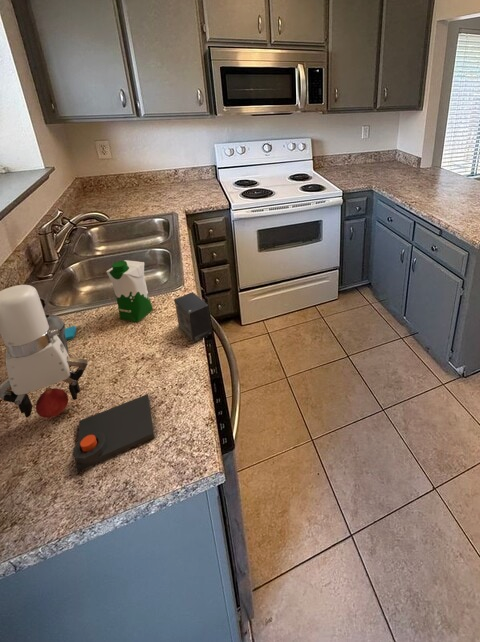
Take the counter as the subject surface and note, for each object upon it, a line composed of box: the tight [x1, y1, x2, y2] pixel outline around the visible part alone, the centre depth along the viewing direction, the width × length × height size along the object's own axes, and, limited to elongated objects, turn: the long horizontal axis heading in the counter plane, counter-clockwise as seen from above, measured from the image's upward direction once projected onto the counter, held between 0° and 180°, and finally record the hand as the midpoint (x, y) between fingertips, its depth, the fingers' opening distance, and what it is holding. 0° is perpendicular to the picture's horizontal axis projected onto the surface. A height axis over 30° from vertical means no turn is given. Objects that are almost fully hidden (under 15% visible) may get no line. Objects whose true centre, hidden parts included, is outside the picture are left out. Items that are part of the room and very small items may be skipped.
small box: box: [173, 291, 213, 344], centre depth 108 cm, size 11×6×10 cm, turn 44°
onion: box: [35, 386, 69, 419], centre depth 81 cm, size 6×6×8 cm
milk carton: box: [105, 259, 154, 323], centre depth 115 cm, size 9×9×20 cm
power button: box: [80, 435, 97, 452], centre depth 72 cm, size 3×3×2 cm
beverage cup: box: [45, 313, 70, 356], centre depth 94 cm, size 7×7×20 cm
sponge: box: [65, 325, 77, 341], centre depth 107 cm, size 2×12×6 cm
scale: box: [72, 393, 155, 473], centre depth 78 cm, size 14×12×3 cm
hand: (53, 403), depth 81 cm, fingers open, 8 cm apart
